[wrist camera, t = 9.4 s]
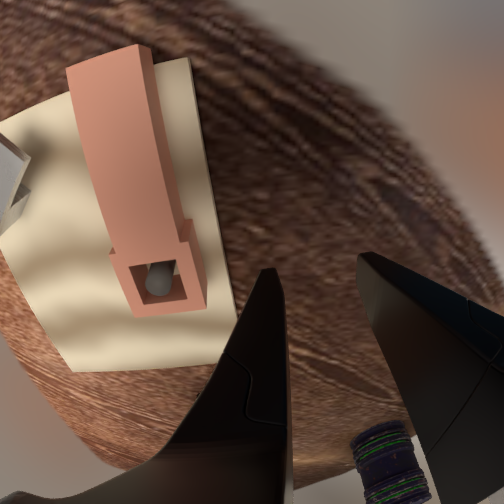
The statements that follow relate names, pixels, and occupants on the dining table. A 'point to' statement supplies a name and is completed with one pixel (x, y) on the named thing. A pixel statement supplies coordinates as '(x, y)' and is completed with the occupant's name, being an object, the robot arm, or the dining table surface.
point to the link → (136, 178)
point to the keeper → (12, 183)
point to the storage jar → (389, 465)
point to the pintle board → (99, 243)
